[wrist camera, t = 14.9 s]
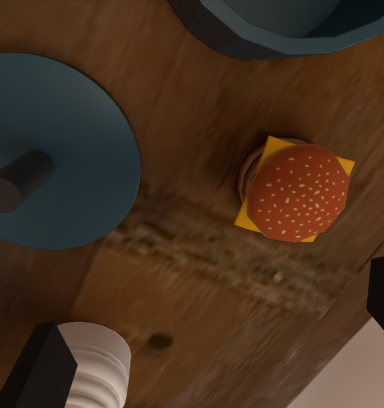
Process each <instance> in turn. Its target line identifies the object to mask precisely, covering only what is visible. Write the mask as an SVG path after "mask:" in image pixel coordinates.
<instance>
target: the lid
mask: <svg viewBox="0 0 384 408" xmlns="http://www.w3.org/2000/svg"><path fill="white" fill-rule="evenodd" d="M140 177H141V160H140V152H139V148H138V144H137V140H136V137H135V135H134V132H133V130H132V127H131V125H130V123H129V121H128V120H127V118H126V116H125V114H124V113H123V111H122V110H121V108H120V107H119V106H118V104H117V103H116V102H115V100H114V99H113V98H112V97H111V96H110V95H109V94H108V93H107V92H106V91H105V90H104V89H103V88H102V87H101V86H100V85H98V84H97V83H96V82H95V81H94V80H92V79H91V78H89V77H88V76H87V75H85V74H84V73H82V72H81V71H79V70H77V69H75V68H73V67H71V66H69V65H67V64H65V63H63V62H60V61H57V60H54V59H52V58H48V57H44V56H40V55H36V54H28V53H18V52H12V53H0V238H2V239H4V240H7V241H9V242H12V243H15V244H18V245H22V246H26V247H30V248H37V249H45V250H60V249H70V248H75V247H80V246H83V245H86V244H89V243H91V242H94V241H96V240H98V239H100V238H102V237H103V236H105V235H106V234H108V233H109V232H111V231H112V230H113V229H114V228H115V227H117V226H118V225H119V224H120V222H121V221H122V220H123V219H124V218H125V217H126V215H127V214H128V212H129V211H130V209H131V207H132V205H133V203H134V201H135V198H136V195H137V192H138V189H139V183H140Z"/></svg>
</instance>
